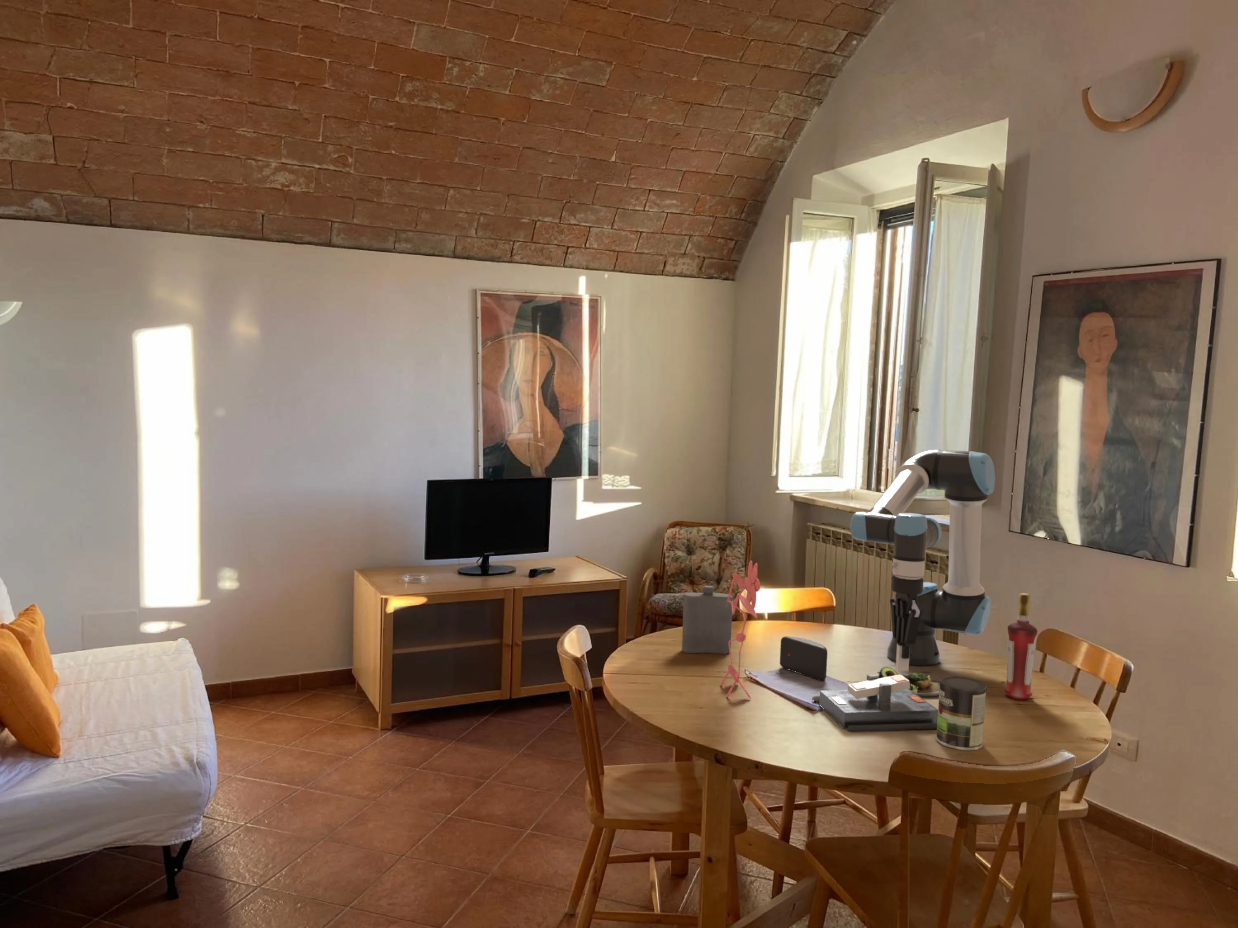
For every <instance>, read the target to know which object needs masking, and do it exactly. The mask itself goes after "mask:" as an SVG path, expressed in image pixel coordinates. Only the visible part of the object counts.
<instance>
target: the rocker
mask: <svg viewBox="0 0 1238 928" xmlns="http://www.w3.org/2000/svg"><path fill="white" fill-rule="evenodd" d="M898 674H899V675H894V676H889V677H884V678H879V679H873V680H868V681H867V680H864V681H859V682H854V683H849V684H847V690H848V692H849V693H850V694H851V695H853V696H854V697H855V698H856V699H859V698H864V697H869V696H874V695H879V684H880V683H889V684H890V685H891V692H894V691H900V690H905V689H910V682H909V680H908V679H906V678H905V677H903V676H902V675H903V674H902V675H900V674H901V673H898Z"/></svg>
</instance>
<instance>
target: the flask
mask: <svg viewBox="0 0 1238 928" xmlns="http://www.w3.org/2000/svg"><path fill="white" fill-rule="evenodd" d="M728 595H729V593H720V592H719V593H718V592H715V587H714V586H712V585H704V586H702V592H687V593H684V594H683V609H682V613H683V615H682V639H681V651H682V652H683V653H685V654H718V653H720V654H721V655H726V654H727V653H728V654H730V652H729V644H728V641H730V640H732V629H733V628H732V627H733V626H732V625H733V624H732V622H733V615H732V606H731V603H729V602H727V599H728ZM729 600H730V601H732V602H733V601H734V598H733V595H732V594H731V595H730V599H729ZM731 647H732V641H731V642H730V649H732V648H731ZM720 654H719V655H720Z"/></svg>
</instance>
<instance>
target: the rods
mask: <svg viewBox="0 0 1238 928" xmlns="http://www.w3.org/2000/svg"><path fill="white" fill-rule="evenodd" d="M811 700H812V701H813V700H814V701H818V702H817V703H819V701H820V695H817V696H812V698H811ZM814 701H813V702H814ZM847 730H848V732H872V731H874V732H877V731H881V732H882V731H910V730H911V731H913V730H914V731H917V730H937V723H915V724H878V725H849V726H848V729H847Z"/></svg>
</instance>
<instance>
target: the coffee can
mask: <svg viewBox="0 0 1238 928" xmlns="http://www.w3.org/2000/svg"><path fill="white" fill-rule="evenodd" d="M938 680H939V683H940V685H939V686H940V690H939V695H938V707H937V709H938V721H937V729H936V736H935V739H936V740H935V741H936V742H938V743H939V744H940V745H943V746H944V747H947V748H950V749H954V750H958V751H967V752H968V751H969V752H970V751H976V750H979V749H982V748H983V739H984V737H983V736H984V724H985V723H984V722H985V707H986V697H987V690H988V686H987V684H986V683H985V682H983V681H980V680H978V679H975V678H971V677H966V676H957V675H948V676H943V677H941V678H940V679H938Z"/></svg>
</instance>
